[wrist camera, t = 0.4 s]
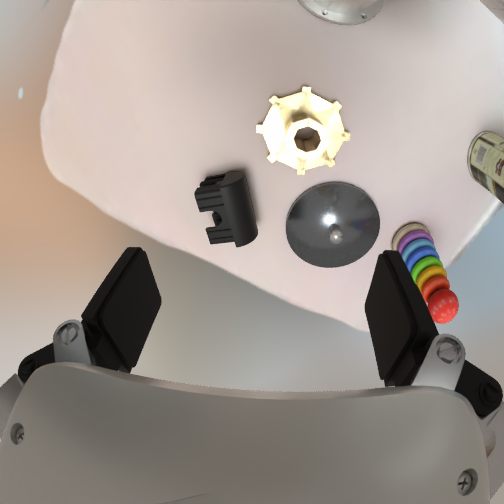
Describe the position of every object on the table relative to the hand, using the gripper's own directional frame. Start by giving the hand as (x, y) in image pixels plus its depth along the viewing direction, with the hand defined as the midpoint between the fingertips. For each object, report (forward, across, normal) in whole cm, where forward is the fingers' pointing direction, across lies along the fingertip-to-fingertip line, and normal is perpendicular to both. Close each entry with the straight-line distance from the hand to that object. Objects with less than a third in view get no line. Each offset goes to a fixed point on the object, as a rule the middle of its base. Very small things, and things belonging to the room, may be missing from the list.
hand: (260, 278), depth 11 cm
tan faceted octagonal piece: (+32, -4, 0) cm, 32 cm away
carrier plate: (+32, -10, +16) cm, 37 cm away
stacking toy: (+32, -25, +18) cm, 45 cm away
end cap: (+32, +7, +11) cm, 35 cm away
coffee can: (+32, -38, 0) cm, 50 cm away
